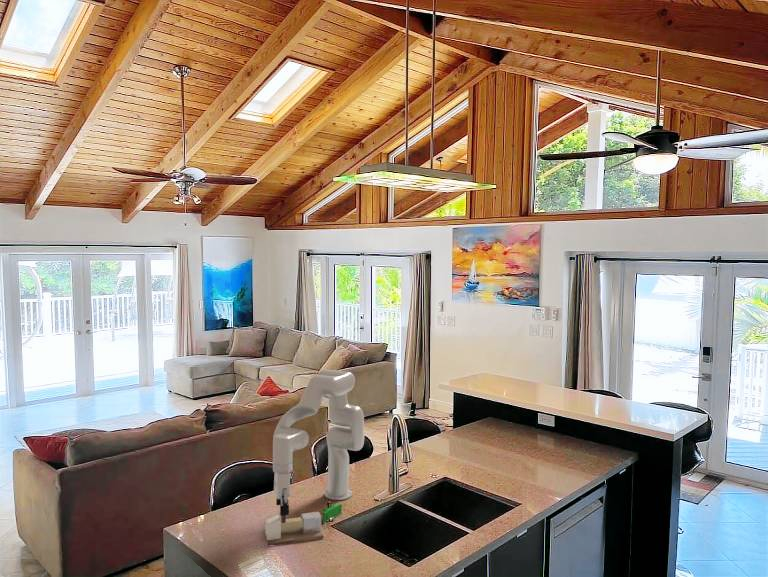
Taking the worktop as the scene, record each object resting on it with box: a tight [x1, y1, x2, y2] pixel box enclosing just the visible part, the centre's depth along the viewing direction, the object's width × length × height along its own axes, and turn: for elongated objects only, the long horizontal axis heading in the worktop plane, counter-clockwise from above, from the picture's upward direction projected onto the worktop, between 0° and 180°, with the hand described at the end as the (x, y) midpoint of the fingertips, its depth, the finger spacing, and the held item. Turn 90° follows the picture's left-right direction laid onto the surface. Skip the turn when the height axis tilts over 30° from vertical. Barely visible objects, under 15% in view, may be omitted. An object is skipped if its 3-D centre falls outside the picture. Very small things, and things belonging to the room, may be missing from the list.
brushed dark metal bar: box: [280, 515, 303, 531], centre depth 225 cm, size 3×13×11 cm, turn 109°
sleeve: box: [300, 511, 322, 534], centre depth 227 cm, size 5×7×6 cm
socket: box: [264, 513, 281, 541], centre depth 223 cm, size 7×5×6 cm
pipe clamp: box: [322, 503, 343, 524], centre depth 242 cm, size 11×4×5 cm, turn 146°
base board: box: [263, 528, 324, 547], centre depth 225 cm, size 12×21×1 cm, turn 109°
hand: (282, 509), depth 224 cm, fingers open, 9 cm apart
